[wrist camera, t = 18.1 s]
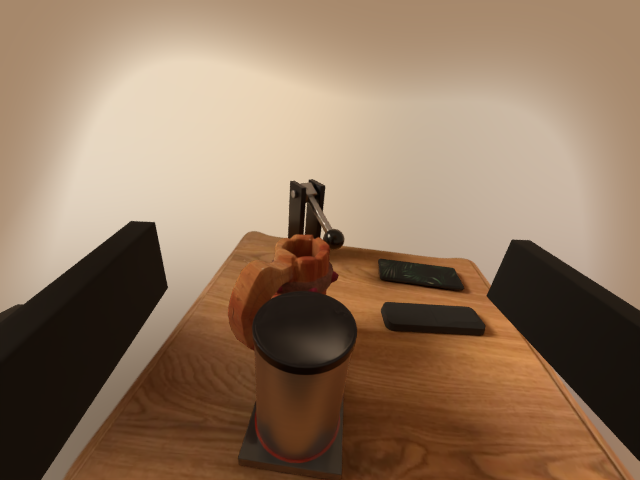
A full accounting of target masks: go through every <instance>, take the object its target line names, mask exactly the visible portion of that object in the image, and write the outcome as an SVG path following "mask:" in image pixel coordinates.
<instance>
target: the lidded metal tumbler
mask: <svg viewBox="0 0 640 480" xmlns="http://www.w3.org/2000/svg"><path fill="white" fill-rule="evenodd" d="M356 337H357V326H356V322H355V319H354V317H353V315H352V314H351V312H350V311H349V310H348V309H347V308H346V307H345V306H344V305H343V304H342V303H340V302H339V301H337V300H336V299H334V298H332V297H330V296H327V295H324V294H321V293H317V292H311V291H295V292H288V293H284V294H281V295H278V296H276V297H274V298H272V299H270V300H269V301H267V302H266V303H265V304H263V306H262V307H261V308H260V309H259V310H258V311H257V313H256V315H255V317H254V320H253V324H252V338H253V343H254V346H255V379H256V415H257V427H258V431H259V434H260V437H261V439H262V440H263V442H264V443H265V445H266V446H267V447H268V448H269V449H270V450H271V451H273V452H274V453H275V454H277V455H279V456H281V457H284V458H287V459H293V460H300V459H306V458H310V457H312V456H315V455H316V454H318V453H320V452H321V451H322V450H323V449H325V448H326V447H327V445H328V444H329V443H330V442H331V440H332V438H333V437H334V435H335V432H336V429H337V424H338V419H339V414H340V409H341V404H342V399H343V394H344V389H345V383H346V378H347V373H348V368H349V363H350V358H351V353H352V351H353V349H354V347H355V342H356Z"/></svg>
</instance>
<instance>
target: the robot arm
mask: <svg viewBox="0 0 640 480" xmlns="http://www.w3.org/2000/svg"><path fill="white" fill-rule="evenodd" d="M167 288H168V286H167V281H166V276H165V271H164V266H163V261H162V256H161V251H160V245H159V241H158V236H157V230H156V225H155V222H138V221H131V222H129V223H128V224H127V225H125V226H124V227H123V228H122V229H120V230H119V231H118V232H116V233H115V234H114V235H113V236H111V237H110V238H109V239H107V240H106V241H105V242H103V243H102V244H101V245H100V246H98V247H97V248H96V249H94V250H93V251H92V252H91V253H89V254H88V255H87V256H85V257H84V258H83V259H82V260H80V261H79V262H78V263H77V264H75V265H74V266H73V267H71V268H70V269H69V270H67V271H66V272H65V273H64V274H62V275H61V276H60V277H59V278H57V279H56V280H55V281H53V282H52V283H51V284H49V285H48V286H47V287H46V288H44V289H43V290H42V291H40V292H39V293H38V294H36V295H35V296H34V297H33V298H31V299H30V300H29V301H27V302H26V303H25V304H24V305H19V304H18V305H15V306H13V307H11V308H9V309H7V310H5V311H3V312H1V313H0V480H41V479H42V477H43V476H44V474H45V473H46V471H47V470H48V468H49V467H50V465H51V464H52V462H53V461H54V459H55V458H56V456H57V455H58V453H59V452H60V450H61V449H62V447H63V446H64V444H65V443H66V441H67V440H68V438H69V437H70V435H71V433H72V432H73V431H74V429H75V428H76V426H77V425H78V423H79V422H80V420H81V418H82V417H83V415H84V414H85V412H86V411H87V409H88V408H89V406H90V405H91V403H92V402H93V400H94V399H95V397H96V396H97V394H98V393H99V391H100V390H101V388H102V387H103V385H104V384H105V382H106V381H107V379H108V378H109V376H110V375H111V373H112V372H113V370H114V369H115V367H116V366H117V364H118V362H119V361H120V359H121V358H122V356H123V355H124V353H125V352H126V350H127V349H128V347H129V346H130V344H131V343H132V341H133V340H134V338H135V337H136V335H137V334H138V332H139V331H140V329H141V328H142V326H143V325H144V323H145V322H146V320H147V319H148V317H149V316H150V314H151V313H152V311H153V310H154V308H155V307H156V305H157V303H158V302H159V300H160V299H161V298H162V296H163V294H164V293H165V291H166V290H167ZM487 297H488V298H489V299H490V300H491V302H492V303H493V304H494V305H495V306H496V307H497V308H498V309H499V310H500V311H501V312H502V313H503V315H504V316H505V317H506V318H507V319H508V320H509V321H510V322H511V323H512V324H513V325H514V326H515V327H516V329H517V330H518V331H519V332H520V333H521V334H522V335H523V336H524V337H525V338H526V339H527V340H528V341H529V343H530V344H531V345H532V346H533V347H534V348H535V349H536V350H537V351H538V352H539V353H540V354H541V356H542V357H543V358H544V359H545V360H546V361H547V362H548V363H549V364H550V365H551V366H552V367H553V368H554V370H555V371H556V372H557V373H558V374H559V375H560V376H561V377H562V378H563V379H564V380H565V381H566V383H567V384H568V385H569V386H570V387H571V388H572V389H573V390H574V391H575V392H576V393H577V394H578V395H579V396H580V397H581V399H582V400H583V401H584V402H585V403H586V404H587V405H588V406H589V407H590V408H591V410H592V411H593V412H594V413H595V414H596V415H597V416H598V417H599V418H600V419H601V420H602V421H603V422H604V424H605V425H606V426H607V427H608V428H609V429H610V430H611V431H612V432H613V433H614V434H615V435H616V437H618V439H619V440H620V441H621V442H622V443H623V444H624V445H625V446H626V447H627V448H628V449H629V450H630V452H631V453H632V454H633V455H634V456H635V457H636V458H637V459H638V460H639V461H640V310H638V309H636V308H635V307H633V306H632V305H630V304H629V303H627V302H626V301H624V300H622V299H621V298H619V297H618V296H616V295H614V294H613V293H611V292H610V291H608V290H607V289H605V288H604V287H602V286H600V285H599V284H597V283H596V282H594V281H593V280H591V279H589V278H588V277H586V276H584V275H583V274H582V273H580V272H578V271H577V270H575V269H574V268H572V267H571V266H569V265H567V264H566V263H564V262H562V261H561V260H560V259H558V258H557V257H555V256H553V255H552V254H550V253H549V252H547V251H545V250H544V249H542V248H541V247H539V246H538V245H536V244H535V243H533V242H532V241H529V240H511V243H510V245H509V247H508V250H507V251H506V254H505V256H504V258H503V261H502V263H501V265H500V267H499V269H498V272H497V274H496V276H495V278H494V281H493V283H492V285H491V287H490V289H489V291H488V294H487Z"/></svg>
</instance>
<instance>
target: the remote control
mask: <svg viewBox="0 0 640 480" xmlns="http://www.w3.org/2000/svg"><path fill="white" fill-rule="evenodd" d="M381 313H382V316H383V320H384V323H385V326H386V327H387V328H388V329H389V330H394V331H412V332H431V333H449V334H467V335H483V334H484V332H485V324H484V323H483V321H482V320H481V319H480V317H479V316H478V315H477V313H476V312H475V311H474V310H473V309H472V308H470V307H462V306H445V305H428V304H412V303H395V302H385V303H384V304H383V307H382V309H381Z"/></svg>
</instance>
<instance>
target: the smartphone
mask: <svg viewBox="0 0 640 480" xmlns="http://www.w3.org/2000/svg"><path fill="white" fill-rule="evenodd" d="M378 263H379V274H380V279H382V280H389V281H396V282H403V283H411V284H418V285H426V286H433V287H440V288H443V289H450V290H464V286H463V284H462V282H461V280H460V279H459V277H458V275H457V273H456V271H455V269H454V268H449V267H441V266H434V265H426V264H418V263H410V262H402V261H395V260H387V259H379V260H378Z"/></svg>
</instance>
